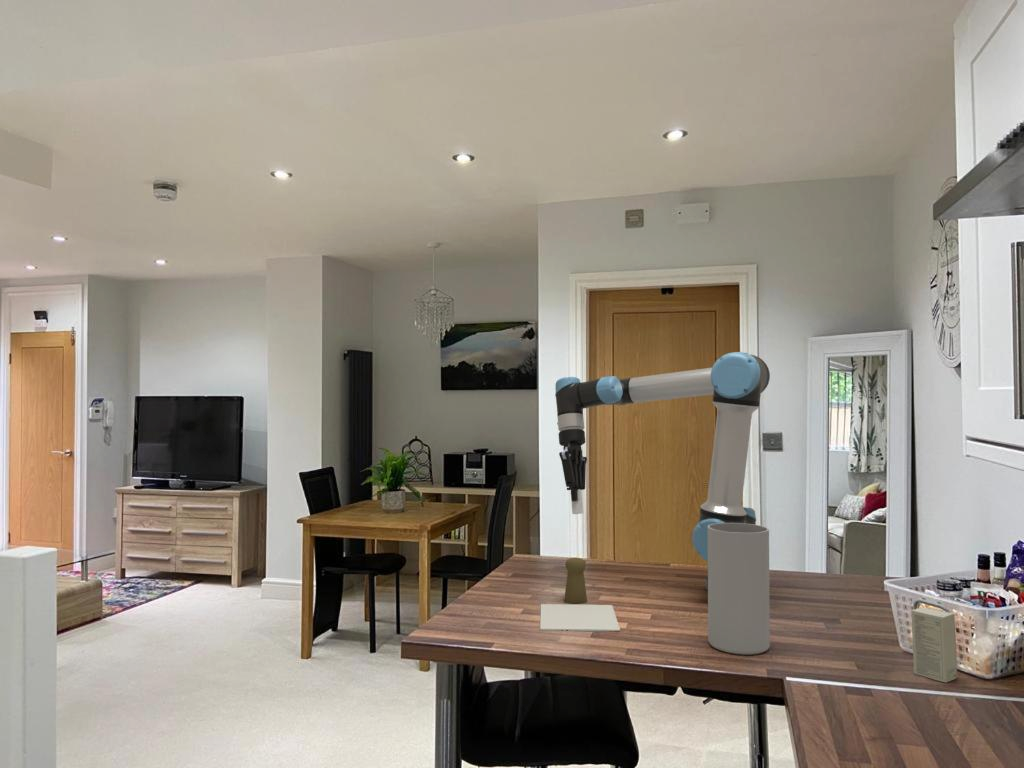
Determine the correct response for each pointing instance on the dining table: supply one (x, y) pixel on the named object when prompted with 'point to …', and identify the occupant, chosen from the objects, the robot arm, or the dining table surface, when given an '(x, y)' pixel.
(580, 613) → the felt mat
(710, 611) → the cylinder vase
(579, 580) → the cork
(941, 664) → the skincare box
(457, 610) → the dining table surface
